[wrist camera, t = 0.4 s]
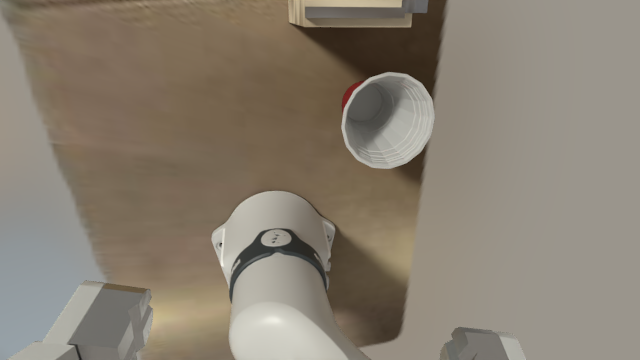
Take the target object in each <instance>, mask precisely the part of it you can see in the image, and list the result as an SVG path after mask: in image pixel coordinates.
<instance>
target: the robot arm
mask: <svg viewBox="0 0 640 360" xmlns="http://www.w3.org/2000/svg"><path fill="white" fill-rule="evenodd" d="M327 235H328V236H327ZM334 235H335V226H334V224H333V223H332V222H331V221H329V220H327V219H325V218H323V217H321V216H320V215H319V214H318V213H317V212H316V211H315V209H314V208H313V207H312V206H311V205H310V204H309V203H308V202H307V201H306V200H305V199H303V198H301V197H300V196H297V195H295V194H292V193H289V192H284V191H268V192H263V193H259V194H256V195H254V196H252V197H250V198H248V199H246V200H245V201H243V202H242V203H241V204H240V205H239V206H238V207H237V208H236V209H235V210H234V212H233V213H232V215H231V216H230V218H229V219H228V221H227V222H226V223H224V224H223V225H221V226H220V227H218V228H217V229H216V230H215V231H214V232H213V233H212V243H213V245H214V248H215V251H216V253H217V256H218V259H219V261H220V264H221V267H222V270H223V272H224V275H225V278H226V280H227V283H228V286H229V295H230V301H231V304H232V307H231V318H230V329H229V344H230V348H231V351H232V354H233V356H234V357H235V359H236V360H371V359H370V358H368V357H367V356H366V355H365V354H364V353H363V352H361V351H360V350H359V349H358V348H357V347H356V346H355V345H354V344H353V343H352V342H351V341H350V340H349V339H348V338H347V337H346V335H345V334H344V333H343V332H342V330H341V329H340V327H339V326H338V324H337V323H336V320H335V318H334V315H333V313H332V310H331V307H330V304H329V301H328V298H327V294H326V292H327V290H328V288H329V277H328V275H326V272H325V271H330V268H331V264H330V262H328V259H329V258H330V257H331V252H330V251H331V247H332V243H333V239H334ZM220 243H222V245H221V244H220ZM150 300H151V292H150V289H145V288H137V287H130V286H123V285H116V284H109V283H103V282H94V281H87V280H86V281H84V282H83V283H82V284H81V285H80V286H79V287H78V288H77V290H76V291H75V293H74V294H73V296H72V297H71V299H70V300H69V302H68V303H67V305H66V306H65V308H64V310H63V311H62V313H61V314H60V316H59V317H58V319H57V320H56V322H55V323H54V325H53V326H52V328H51V329H50V331H49V333H48V334H47V335H46V337H45V339H44V340H43V341H42V342H40V341H35V342H33V343H32V344H30V345H29V346H27V347H26V348H24V349H23V350H21V351H19V352H18V353H16V354H15V355H13V356H12V357H10V358H9V359H7V360H137V356H136V352H137V351H139V350H140V349H141V348H143V347H144V346H145V344H146V341H147V339H148V336H149V333H150V329H151V325H152V320H153V309H152V308H151V307H150V306H149V305H148V304H149V302H150ZM451 335H452V338H453V340H451V341H449V342H447V343H445V344H444V346H443V348H442V350H441V353H440V360H526V358H525V355H524V353H523V351H522V349H521V347H520V345H519V342H518V340H517V339H516V337H515V336H514V335H513V334H511V333H504V332H495V331H491V330H482V329H473V328H464V327H458V328H456V329H455V330H454V331H453V332H452V334H451Z"/></svg>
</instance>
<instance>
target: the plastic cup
mask: <svg viewBox="0 0 640 360" xmlns="http://www.w3.org/2000/svg"><path fill="white" fill-rule="evenodd" d="M342 112H343V119H342V127H341V128H342V132H343V136H344V140H345V144H346V146H347V148H348V149H349V150H350V152H351V153H352V154H353V155H354V157H355V158H356V159H357V160H358V161H360V162H362V163H364V164H366V165H368V166H370V167H372V168H385V169H390V168H394V167H397V166H400V165H403V164H406V163H408V162H409V161H410V160H411V159H413V158H414V157H415V156H416V155H418V154H419V153H420V152H421V151H422V149H423V148H424V146H425V145H426V143H427V141H428V140H429V138H430V137H431V134H432V129H433V125H434V120H435V114H434V108H433V101H432V98H431V97H430V95H429V93H428V92H427V90H426V89H425V87H424V86H423V84H422V83H420V82H419V81H417V80H416V79H414V78H412V77H411V76H409V75H408V74H402V73H394V72H386V73H383V74H380V75H377V76H373V77H370V78H369V79H367V80H366V81H361V82H358V83H355V84H353V85H352V86H351V87H350V88H348V89H347V91H346V93H345V95H344V96H343V101H342Z"/></svg>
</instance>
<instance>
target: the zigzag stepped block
mask: <svg viewBox="0 0 640 360" xmlns="http://www.w3.org/2000/svg"><path fill="white" fill-rule="evenodd" d="M427 8H428V0H288V11H289V22H290V23H293V24H296V25H300V26H303V27H411V22H412V13H427Z"/></svg>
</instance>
